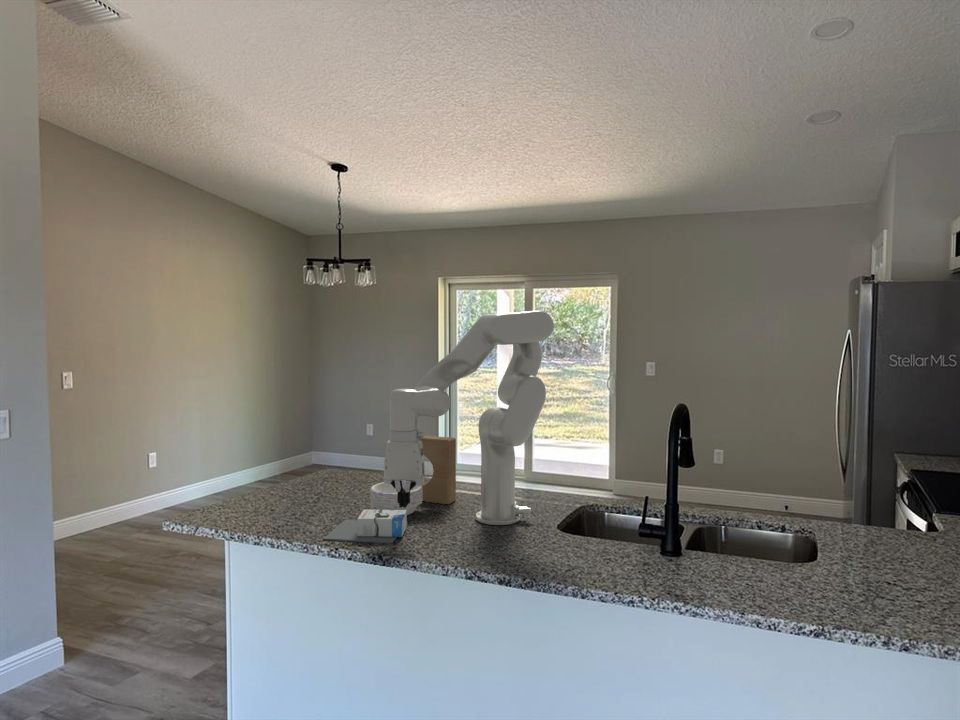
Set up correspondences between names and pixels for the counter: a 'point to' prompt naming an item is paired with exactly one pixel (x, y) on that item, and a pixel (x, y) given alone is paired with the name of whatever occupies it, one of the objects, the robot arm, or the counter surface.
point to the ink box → (382, 523)
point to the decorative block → (440, 469)
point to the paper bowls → (394, 497)
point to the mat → (354, 534)
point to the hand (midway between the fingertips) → (403, 505)
